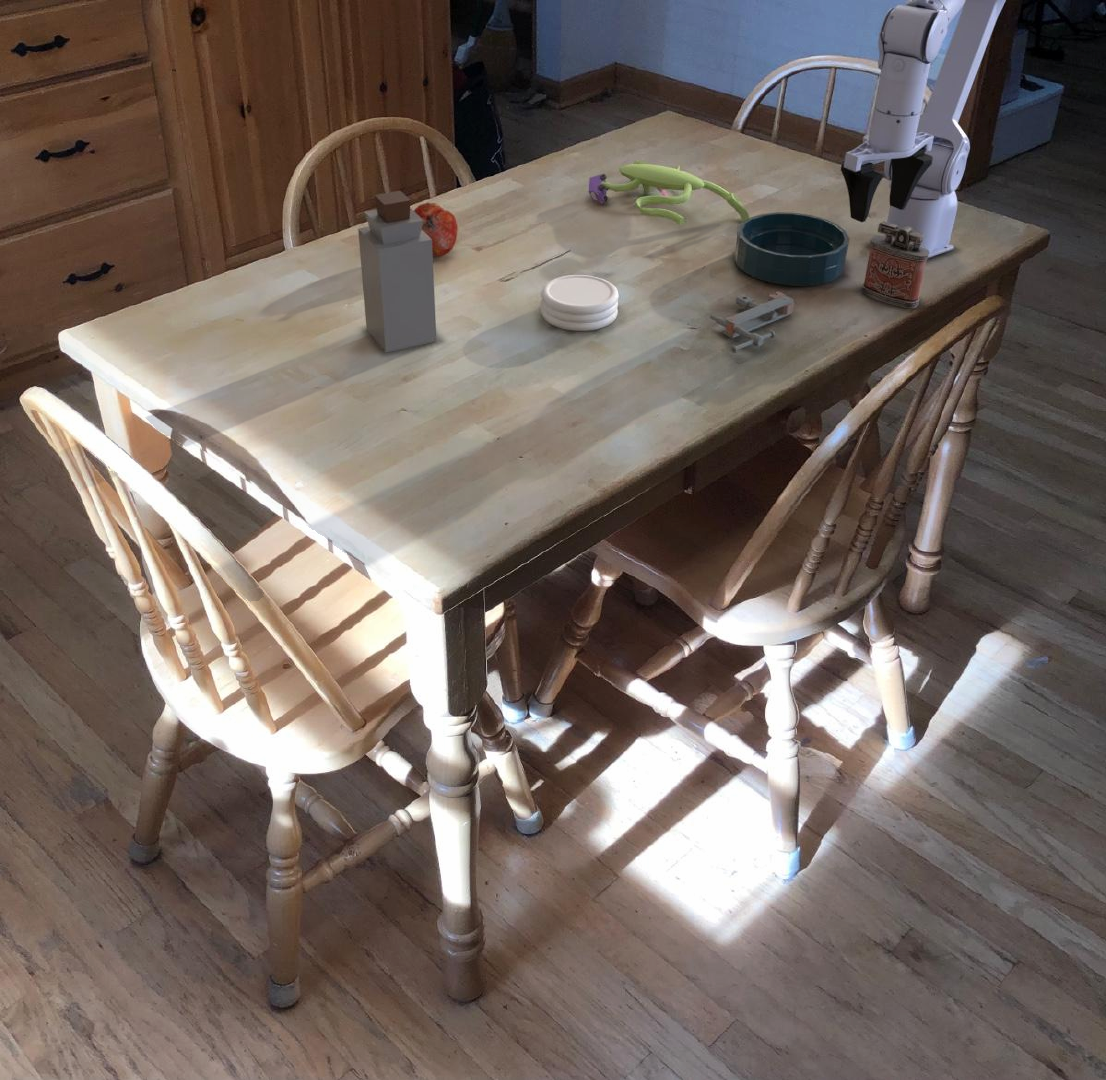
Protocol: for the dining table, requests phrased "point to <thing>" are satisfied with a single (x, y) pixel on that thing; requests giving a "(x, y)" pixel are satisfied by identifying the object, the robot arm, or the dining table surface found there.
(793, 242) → the bowl
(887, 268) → the lighter
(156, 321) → the dining table surface
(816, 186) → the dining table surface
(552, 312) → the coaster
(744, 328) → the clamp
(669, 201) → the figurine
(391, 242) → the perfume bottle
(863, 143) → the robot arm
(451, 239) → the pomegranate
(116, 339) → the dining table surface
